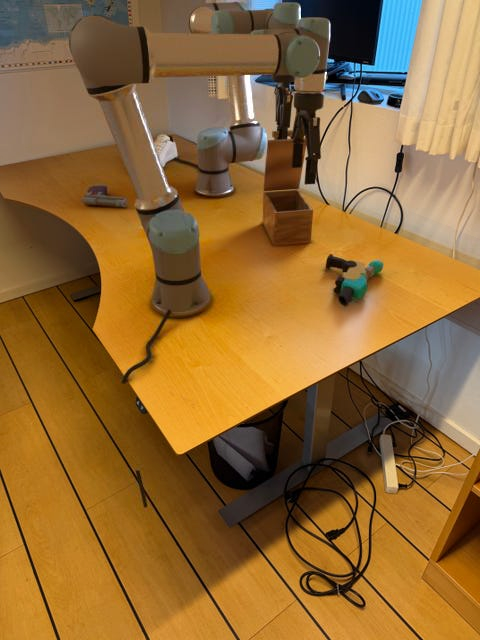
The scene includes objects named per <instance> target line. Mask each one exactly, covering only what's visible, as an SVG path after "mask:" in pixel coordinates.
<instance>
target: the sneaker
mask: <svg viewBox="0 0 480 640" xmlns="http://www.w3.org/2000/svg"><path fill="white" fill-rule="evenodd" d="M154 144H155V147H156V150H157V153H158V155H159V158H160V161H161V164H162V167H163V168H164V167H165V166H166V164H167V163H168V162H170V161H172V160H175V159H174V158H175V157H176V158H178V156H179V155H178V149H177V144H176V140H175V136H174V135H173V134H164V133H161V134H158V135H157V137H156V139H155V140H154Z"/></svg>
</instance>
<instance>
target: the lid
mask: <svg viewBox="0 0 480 640" xmlns="http://www.w3.org/2000/svg"><path fill="white" fill-rule="evenodd" d="M292 131H293V129H288V135H287V139H280V140H277V137H279V131H277V130H272V132H271V137H272V138H273V139H267V147H266V153H265V154H266V156H265V165H264V176H263V186H262V191H263V192H272V191H286V190H300V186H301V179H302V173H303V168H304V162H305V158H306V157H305V156H306V152H307V146H306V137H304V142H305V143H303V156H302V168H292V156H293V144H294V143H293V139H292V138H291V136H292ZM300 144H302V143H300Z"/></svg>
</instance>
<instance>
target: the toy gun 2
mask: <svg viewBox="0 0 480 640" xmlns="http://www.w3.org/2000/svg"><path fill="white" fill-rule="evenodd" d="M384 265H385V264H384V262H383V261H382V260H372V261H371V262H369V263H368V266H366V264H365V263H364V262H361V261H354V260H346V259H344V258H341V257H338V256H334V254H332V253H330V254H329V255H328V256H327V258H326V261H325V269H327V270H330V269H331V268H334V269H335V268H336V269H339V270H341V271H342V273H341V275H340V276H338V277H337V278H336V279H335V281H334V285H335V287H334V288H333V292H334V294H335V295H338V297H337V300H338V302H339V303H340V305H341V306H343V307H348V305H349V304H350V303H352V301H353V299H354V300H360V299H361V297H363V296H364V295H365V294H366V292H367V290H368V281H367V280H368V279H370V278H371V277H373V276H374V275H379V274H380V273H381V272H382V270H383V269H384Z"/></svg>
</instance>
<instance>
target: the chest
mask: <svg viewBox="0 0 480 640" xmlns="http://www.w3.org/2000/svg"><path fill="white" fill-rule="evenodd" d="M313 219H314V209H313V208H312V206H311V205H310V203H309V202H308V201H307V199H306V198H305V197H304V195H303V194H302V193H301V191H300V189H290V190H276V191H263V192H262V224H263V227H264V228H265V230H266V232H267V236H268V237H269V239H270V241H271V243H272V245H273V246H274V247H275V246H276V247H277V246H287V245H299V244H308V243H309V244H311V241H312V240H311V239H312V231H313Z"/></svg>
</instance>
